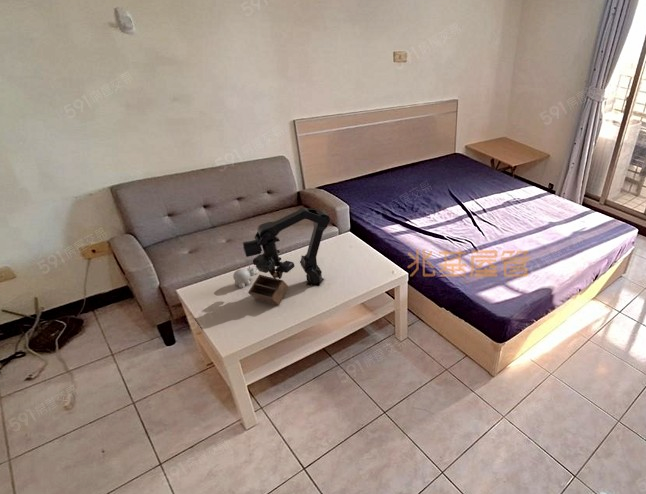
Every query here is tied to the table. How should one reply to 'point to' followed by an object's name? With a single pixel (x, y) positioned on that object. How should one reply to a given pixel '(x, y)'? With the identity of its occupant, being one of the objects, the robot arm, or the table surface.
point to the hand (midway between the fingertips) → (277, 277)
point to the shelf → (269, 289)
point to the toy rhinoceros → (244, 276)
